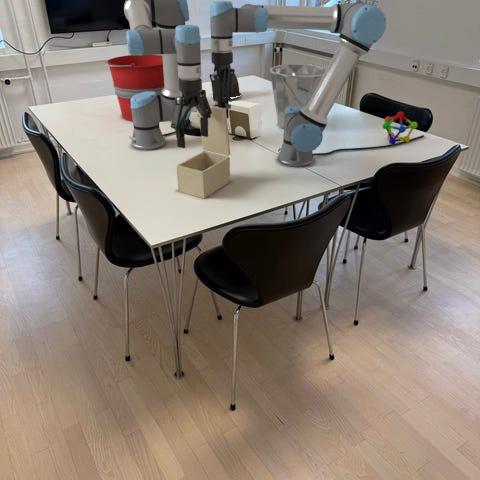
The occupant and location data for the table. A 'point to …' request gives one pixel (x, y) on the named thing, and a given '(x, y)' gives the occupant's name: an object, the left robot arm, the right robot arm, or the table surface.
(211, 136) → the lid
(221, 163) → the chest
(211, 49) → the right robot arm
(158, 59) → the bucket
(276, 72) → the bucket
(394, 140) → the educational toy
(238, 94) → the bell
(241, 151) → the table surface
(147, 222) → the table surface
